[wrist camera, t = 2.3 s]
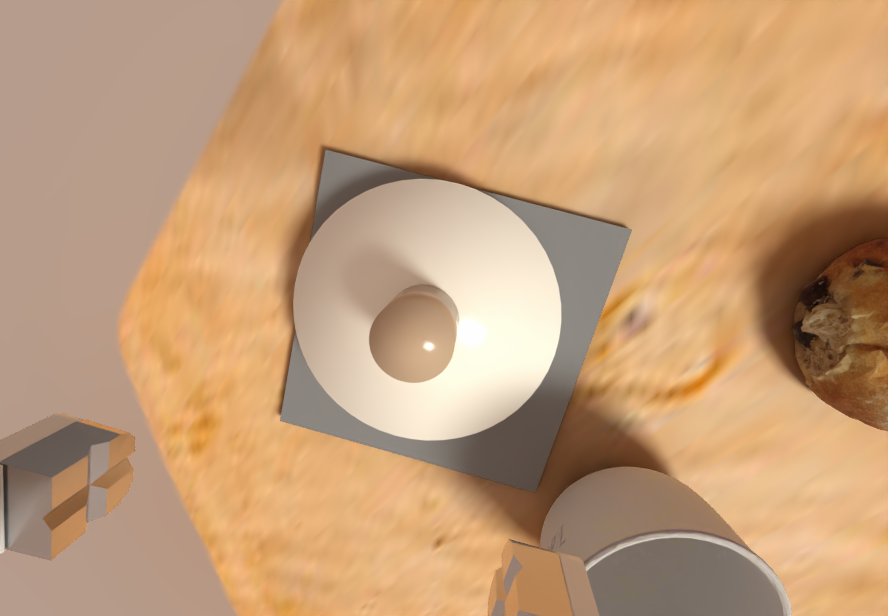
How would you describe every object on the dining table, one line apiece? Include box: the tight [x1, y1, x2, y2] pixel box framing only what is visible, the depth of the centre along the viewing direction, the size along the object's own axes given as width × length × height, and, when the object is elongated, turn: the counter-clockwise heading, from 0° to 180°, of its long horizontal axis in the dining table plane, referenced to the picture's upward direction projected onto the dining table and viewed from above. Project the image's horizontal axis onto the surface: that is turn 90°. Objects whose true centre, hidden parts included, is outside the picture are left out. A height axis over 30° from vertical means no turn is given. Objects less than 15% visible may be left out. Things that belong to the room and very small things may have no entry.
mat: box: [280, 150, 632, 493], centre depth 25 cm, size 17×17×1 cm
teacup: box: [540, 467, 791, 616], centre depth 23 cm, size 14×11×8 cm
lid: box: [293, 179, 561, 440], centre depth 22 cm, size 15×15×5 cm
